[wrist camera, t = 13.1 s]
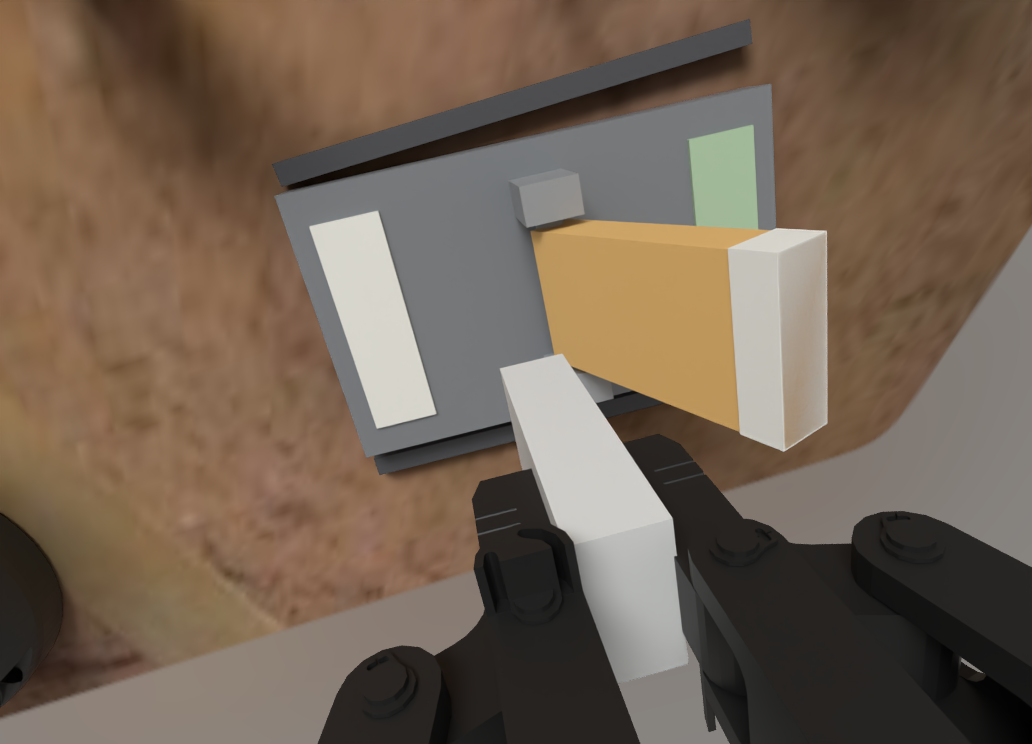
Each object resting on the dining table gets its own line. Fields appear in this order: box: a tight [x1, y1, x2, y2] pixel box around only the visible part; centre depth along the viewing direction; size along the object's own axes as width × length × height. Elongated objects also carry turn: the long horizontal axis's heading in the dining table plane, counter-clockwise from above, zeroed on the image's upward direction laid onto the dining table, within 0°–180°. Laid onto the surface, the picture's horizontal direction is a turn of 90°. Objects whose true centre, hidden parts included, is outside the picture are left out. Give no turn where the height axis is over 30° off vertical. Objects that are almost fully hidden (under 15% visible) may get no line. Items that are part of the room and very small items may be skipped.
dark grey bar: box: [272, 19, 752, 187], centre depth 27 cm, size 22×1×1 cm, turn 106°
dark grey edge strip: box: [374, 391, 664, 475], centre depth 34 cm, size 22×1×1 cm, turn 102°
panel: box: [275, 84, 776, 458], centre depth 28 cm, size 22×13×6 cm, turn 102°
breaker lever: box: [530, 219, 827, 451], centre depth 23 cm, size 2×6×13 cm, turn 12°
